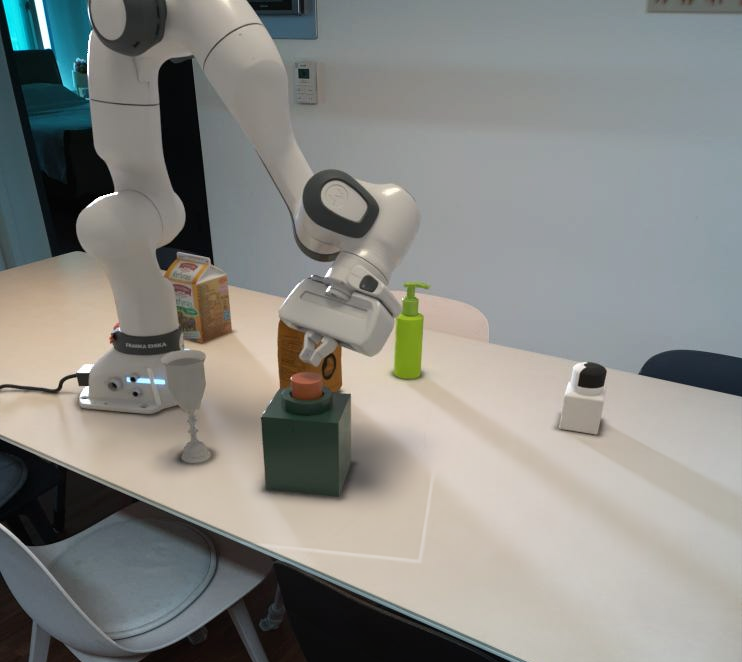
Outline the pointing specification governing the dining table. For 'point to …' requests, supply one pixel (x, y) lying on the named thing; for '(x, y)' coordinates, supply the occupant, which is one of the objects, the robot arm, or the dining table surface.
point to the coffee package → (291, 364)
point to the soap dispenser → (409, 335)
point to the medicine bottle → (584, 398)
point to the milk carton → (200, 297)
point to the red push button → (306, 386)
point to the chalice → (188, 394)
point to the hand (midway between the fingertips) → (307, 362)
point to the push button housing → (307, 442)
